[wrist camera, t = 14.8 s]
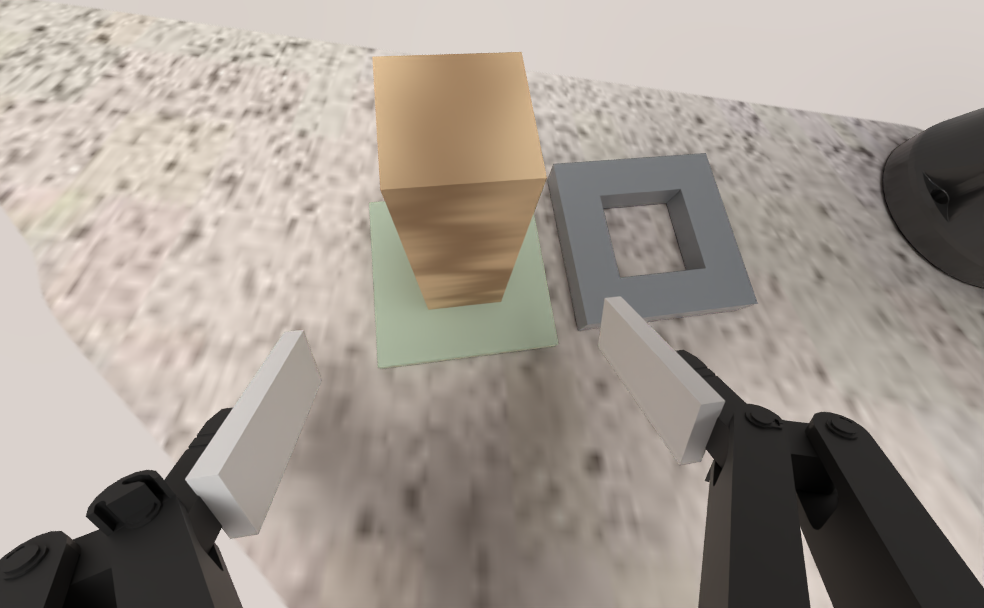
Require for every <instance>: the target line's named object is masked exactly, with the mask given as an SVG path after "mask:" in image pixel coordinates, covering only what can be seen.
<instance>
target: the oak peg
mask: <svg viewBox="0 0 984 608" xmlns="http://www.w3.org/2000/svg"><path fill="white" fill-rule="evenodd" d="M373 74H374V91H375V108H376V125H377V142H378V159H379V176H380V190H381V193H382V195H383V198H384V200H385V203H386V205H387V208H388V210H389V213H390V215H391V218H392V220H393V223H394V225H395V228H396V230H397V233H398V235H399V238H400V240H401V243H402V245H403V248H404V250H405V253H406V255H407V258H408V260H409V263H410V265H411V268H412V270H413V273H414V275H415V278H416V280H417V283H418V285H419V288H420V290H421V293H422V295H423V298H424V300H425V303H426V305H427V308H428V310H431V309H440V308H449V307H459V306H468V305H477V304H486V303H495V302H501V301H502V298H503V295H504V292H505V290H506V287H507V284H508V282H509V279H510V276H511V273H512V271H513V268H514V265H515V263H516V260H517V257H518V254H519V252H520V249H521V246H522V244H523V241H524V238H525V235H526V233H527V230H528V227H529V225H530V222H531V219H532V216H533V214H534V211H535V208H536V206H537V203H538V200H539V198H540V195H541V192H542V189H543V187H544V184H545V181H546V179H547V177H546V172H545V167H544V162H543V157H542V152H541V147H540V142H539V137H538V132H537V127H536V122H535V117H534V112H533V107H532V102H531V97H530V92H529V87H528V82H527V77H526V72H525V67H524V62H523V57H522V53H521V52H507V53H476V54H444V55H412V56H381V57H373Z"/></svg>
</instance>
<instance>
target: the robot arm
mask: <svg viewBox="0 0 984 608" xmlns="http://www.w3.org/2000/svg"><path fill="white" fill-rule="evenodd" d="M883 187H884V194H885V198H886V201H887V205H888V207H889V210H890V212H891V214H892V216H893V218H894V220H895V222H896V224H897V225H898V227H899V229H900V230H901V231H902V233H903V234H904V236H905V237H906V238H907V239H908V241H909V242H910V243H911V244H912V245H913V246H914V247H915V248H916V249H917V251H918V252H920V253H921V254H922V255H923V256H924V257H925V258H926V259H927V260H929V261H930V262H931V263H932V264H934V265H935V266H936V267H938V268H939V269H941V270H942V271H944V272H946V273H947V274H949V275H951V276H953V277H955V278H957V279H959V280H961V281H963V282H966V283H968V284H971V285H974V286H978V287H981V288H984V108H981V109H978V110H976V111H972V112H969V113H966V114H964V115H961V116H958V117H955V118H952V119H949V120H946V121H943V122H941V123H939V124H936V125H934V126H932V127H930V128H928V129H926V130H925V131H923V132H921V133H919V134H918V135H916V136H914V137H913V138H911V139H909V140H907V141H906V142H904V143H902V144H901V145H899V146H898V147H897V148H896V149H895V150H894V151H893V152H892V154H891V155H890V157H889V158H888V160H887V163H886V165H885V169H884V175H883ZM598 348H599V349H600V351H601V352H602V353H603V355H604V356H605V358H606V359H607V361H608V362H609V364H610V365H611V367H612V368H613V369H614V371H615V372H616V374H617V375H618V377H619V378H620V380H621V381H622V382H623V384H624V385H625V387H626V388H627V390H628V391H629V393H630V394H631V395H632V397H633V398H634V400H635V401H636V403H637V404H638V406H639V407H640V409H641V410H642V411H643V413H644V414H645V416H646V417H647V419H648V420H649V422H650V423H651V424H652V426H653V427H654V429H655V430H656V432H657V433H658V435H659V436H660V437H661V439H662V440H663V442H664V443H665V445H666V446H667V448H668V449H669V450H670V452H671V453H672V455H673V456H674V458H675V459H676V461H677V462H678V464H679V465H683V464H690V463H696V462H701V460H702V458H703V455H704V453H705V450H707V451H708V452H709V453H710V455H711V456H712V457H713V458H714V460H713V463H712V465H711V467H710V470H709V472H708V474H707V477H706V479H705V481H707V482H709V481H710V484H709V495H708V506H707V517H706V528H705V539H704V551H703V562H702V573H701V584H700V595H699V606H698V608H810V600H809V592H808V585H807V577H806V569H805V561H804V554H803V546H802V538H801V530H802V532H803V534H804V537H805V539H806V542H807V544H808V546H809V549H810V551H811V554H812V556H813V559H814V561H815V563H816V566H817V568H818V571H819V573H820V575H821V578H822V580H823V583H824V585H825V588H826V590H827V592H828V595H829V597H830V600H831V602H832V605H833V607H834V608H984V588H983V586H982V585H981V584H980V582H979V581H978V580H977V578H976V577H975V576H974V574H973V573H972V571H971V570H970V569H969V567H968V566H967V565H966V563H965V562H964V561H963V559H962V558H961V557H960V555H959V554H958V553H957V551H956V550H955V548H954V547H953V546H952V544H951V543H950V542H949V540H948V539H947V538H946V536H945V535H944V534H943V532H942V531H941V529H940V528H939V527H938V525H937V524H936V523H935V521H934V520H933V519H932V517H931V516H930V515H929V513H928V512H927V511H926V509H925V508H924V506H923V505H922V504H921V502H920V501H919V500H918V498H917V497H916V496H915V494H914V493H913V492H912V490H911V489H910V487H909V486H908V485H907V483H906V482H905V481H904V479H903V478H902V477H901V475H900V474H899V473H898V471H897V470H896V469H895V467H894V466H893V464H892V463H891V462H890V460H889V459H888V458H887V456H886V455H885V454H884V452H883V451H882V450H881V448H880V447H879V446H878V444H877V443H876V441H875V440H874V439H873V437H872V436H871V435H870V434H869V433H868V432H867V431H866V430H865V429H864V428H863V427H862V426H860V425H859V424H857V423H856V422H854V421H853V420H851V419H848V418H846V417H844V416H842V415H838V414H834V413H830V412H819V413H816V414H814V416H813V418H812V419H811V421H810V423H802V422H793V421H785V420H782V419H781V418H780V417H779V416H778V415H776V414H775V413H773V412H772V411H770V410H768V409H766V408H763V407H761V406H758V405H753V404H746V403H745V402H744V401H743V400H742V399H741V398H740V397H739V396H738V395H737V394H736V393H735V392H733V391H732V390H731V389H730V388H729V387H728V386H727V385H726V384H725V383H724V382H723V381H722V380H721V379H720V378H719V377H718V376H715V374H714V373H713V372H712V371H711V370H710V369H708V368H707V366H706V365H705V364H704V363H703V362H702V361H701V360H699V359H698V358H697V357H696V356H694V355H692V354H690V353H688V352H687V351H685V350H679V351H675V350H674V349H673V348H672V347H671V346H670V345H669V344H668V343H667V342H666V341H665V340H664V339H663V338H662V337H661V336H660V335H659V334H658V333H657V332H656V331H655V330H654V329H653V328H652V327H651V326H650V325H649V324H648V323H647V322H646V321H645V320H644V319H643V318H642V317H641V316H640V315H639V314H638V313H637V312H636V311H635V310H634V309H633V308H632V307H631V306H630V305H629V304H628V303H627V302H626V301H625V300H624V299H623V298H622V297H621V296H619V297H609V298H605V300H604V307H603V314H602V321H601V328H600V335H599V342H598ZM321 381H322V379H321V376H320V373H319V371H318V368H317V365H316V362H315V360H314V357H313V354H312V351H311V349H310V346H309V343H308V340H307V338H306V335H305V332H304V330H297V331H287V332H284V333H283V334H282V336H281V337H280V339H279V340H278V342H277V343H276V345H275V346H274V348H273V349H272V351H271V352H270V354H269V355H268V357H267V358H266V360H265V361H264V363H263V364H262V366H261V367H260V369H259V370H258V372H257V373H256V375H255V376H254V377H253V379H252V380H251V382H250V383H249V385H248V386H247V388H246V389H245V391H244V392H243V394H242V395H241V397H240V398H239V400H238V401H237V403H236V404H235V406H234V407H233V408H226V409H221V410H220V411H219V412H218V413H217V414H215V415H214V416H213V417H212V418H211V419H209V420H208V421H207V422H206V423H205V425H204V426H203V428H202V429H201V430H200V432H199V433H198V434H197V438H195V439H194V440H193V441H192V443H191V444H190V445H189V449H187V450H186V451H185V452H184V454H183V455H182V456H181V458H180V459H179V461H178V462H177V463H176V465H175V466H174V467H173V469H172V470H171V472H170V473H169V474H168V476H167V477H166V479H165V480H163V478H162V477H161V476H160V475H159V474H158V473H157V472H156V471H153V470H144V471H140V472H135V473H133V474H131V475H128V476H126V477H124V478H121V479H120V480H118V481H117V482H115V483H113V484H112V485H110V486H109V487H107V488H106V489H105V490H104V491H103V492H102V493H100V494H99V495H98V496H97V497H96V498H95V500H94V501H93V502H92V503H91V505H90V506H89V507H88V511H87V514H86V517H87V518H88V519H89V520H90V521H91V522H92V523H93V524H94V525H96V526H97V527H98V528H99V530H97V531H94V532H91V533H89V534H87V535H84V536H81V537H79V538H76V539H73V540H72V539H71V538H70V537H69V536H67V535H66V534H65V533H63V532H62V531H51V532H48V533H45V534H42V535H39V536H36V537H34V538H32V539H30V540H28V541H27V542H25V543H23V544H21V545H19V546H18V547H16V548H15V549H13V550H12V551H11V552H9V553H8V554H6V555H5V556H4V557H2V558H1V559H0V608H243V607H242V605H241V602H240V600H239V597H238V595H237V592H236V590H235V587H234V585H233V582H232V580H231V577H230V575H229V572H228V570H227V567H226V565H225V562H224V560H223V557H222V555H221V552H220V550H219V548H218V546H217V545H216V544H215V543H214V542H215V540H216V538H217V536H218V534H219V532H220V530H221V528H222V529H223V530H224V531H225V533H226V534H227V535H228V536H229V538H230V539H232V538H238V537H245V536H251V535H257V534H259V532H260V529H261V527H262V524H263V522H264V520H265V517H266V515H267V512H268V510H269V507H270V505H271V503H272V500H273V498H274V495H275V493H276V490H277V488H278V486H279V483H280V481H281V478H282V476H283V474H284V471H285V469H286V466H287V464H288V461H289V459H290V457H291V454H292V452H293V449H294V447H295V444H296V442H297V440H298V437H299V435H300V432H301V430H302V428H303V425H304V423H305V420H306V418H307V415H308V413H309V411H310V408H311V406H312V403H313V401H314V398H315V396H316V394H317V391H318V389H319V386H320V384H321ZM800 527H801V530H800Z"/></svg>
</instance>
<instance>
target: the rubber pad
mask: <svg viewBox="0 0 984 608" xmlns="http://www.w3.org/2000/svg"><path fill="white" fill-rule="evenodd" d="M369 210H370V229H371V248H372V266H373V285H374V304H375V322H376V341H377V360H378V368H380V369H385V368H393V367H401V366H408V365H416V364H424V363H431V362H439V361H447V360H454V359H462V358H470V357H477V356H485V355H493V354H501V353H508V352H516V351H524V350H531V349H539V348H547V347H554V346H556V345H558V339H557V333H556V328H555V323H554V318H553V312H552V307H551V302H550V296H549V291H548V286H547V280H546V275H545V270H544V264H543V259H542V254H541V249H540V243H539V238H538V233H537V227H536V222H535V217H534V214H533V216H532V219H531V222H530V225H529V227H528V230H527V233H526V235H525V238H524V241H523V244H522V246H521V249H520V252H519V254H518V257H517V260H516V263H515V265H514V268H513V271H512V273H511V276H510V279H509V282H508V284H507V287H506V290H505V292H504V295H503V298H502V301H501V302H495V303H486V304H477V305H468V306H459V307H449V308H440V309H431V310H428V308H427V305H426V303H425V300H424V298H423V295H422V293H421V290H420V288H419V285H418V283H417V280H416V278H415V275H414V273H413V270H412V268H411V265H410V263H409V260H408V258H407V255H406V253H405V250H404V248H403V245H402V243H401V240H400V238H399V235H398V233H397V230H396V228H395V225H394V223H393V220H392V218H391V215H390V213H389V210H388V208H387V205H386V203H385V201H384V202H371V203H369Z"/></svg>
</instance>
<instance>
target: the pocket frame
mask: <svg viewBox="0 0 984 608" xmlns="http://www.w3.org/2000/svg"><path fill="white" fill-rule="evenodd" d="M547 181H548V185H549V190H550V195H551V200H552V205H553V210H554V215H555V220H556V224H557V229H558V234H559V239H560V244H561V249H562V254H563V259H564V263H565V268H566V273H567V278H568V283H569V288H570V293H571V298H572V302H573V307H574V312H575V317H576V322H577V327H578V330H586V329H594V328H601V321H602V314H603V307H604V300H605V298H609V297H619V296H621V297H622V298H623V299H624V300H625V301H626V302H627V303H628V304H629V305H630V306H631V307H632V308H633V309H634V310H635V311H636V312H637V313H638V314H639V315H640V316H641V317H642V318H643V319H644V320H645V321H646V322H650V321H658V320H666V319H674V318H682V317H689V316H697V315H705V314H713V313H721V312H729V311H737V310H740V309H743V308H746V307H749V306H752V305H755V304H758V303H757V300H756V297H755V294H754V291H753V288H752V286H751V283H750V280H749V277H748V274H747V271H746V268H745V265H744V263H743V260H742V257H741V254H740V251H739V248H738V245H737V242H736V239H735V237H734V234H733V231H732V228H731V225H730V222H729V219H728V216H727V213H726V211H725V208H724V205H723V202H722V199H721V196H720V193H719V190H718V187H717V185H716V182H715V179H714V176H713V173H712V170H711V167H710V164H709V161H708V159H707V156H706V153H701V154H687V155H673V156H659V157H645V158H631V159H617V160H603V161H589V162H575V163H561V164H553V167H552V169H551V172H550V175H549V177H548V180H547ZM664 203H666V204H667V207H668V210H669V214H670V217H671V220H672V224H673V227H674V230H675V234H676V237H677V240H678V244H679V247H680V250H681V254H682V257H683V260H684V264H685V267H686V270H685V271H676V272H667V273H658V274H649V275H640V276H631V277H622V278H620V276H619V271H618V267H617V263H616V259H615V255H614V251H613V247H612V243H611V239H610V235H609V231H608V227H607V223H606V219H605V215H604V210H603V209H606V208H618V207H629V206H641V205H652V204H664Z"/></svg>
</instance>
